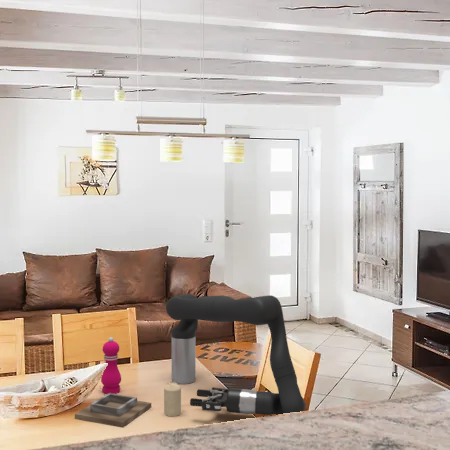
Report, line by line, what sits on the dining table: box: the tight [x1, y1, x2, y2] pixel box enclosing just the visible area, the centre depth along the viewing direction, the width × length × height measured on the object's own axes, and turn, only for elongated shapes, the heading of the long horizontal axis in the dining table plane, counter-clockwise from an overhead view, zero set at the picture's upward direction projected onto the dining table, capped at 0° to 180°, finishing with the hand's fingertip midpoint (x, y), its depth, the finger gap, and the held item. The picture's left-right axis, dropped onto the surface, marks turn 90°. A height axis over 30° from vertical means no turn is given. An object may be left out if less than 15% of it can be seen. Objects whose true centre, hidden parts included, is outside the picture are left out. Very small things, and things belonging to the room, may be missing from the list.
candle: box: [163, 382, 182, 417], centre depth 193 cm, size 6×6×10 cm
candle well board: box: [74, 393, 152, 428], centre depth 193 cm, size 18×18×4 cm
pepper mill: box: [100, 336, 122, 395], centre depth 213 cm, size 7×7×20 cm
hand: (193, 397), depth 191 cm, fingers open, 8 cm apart
